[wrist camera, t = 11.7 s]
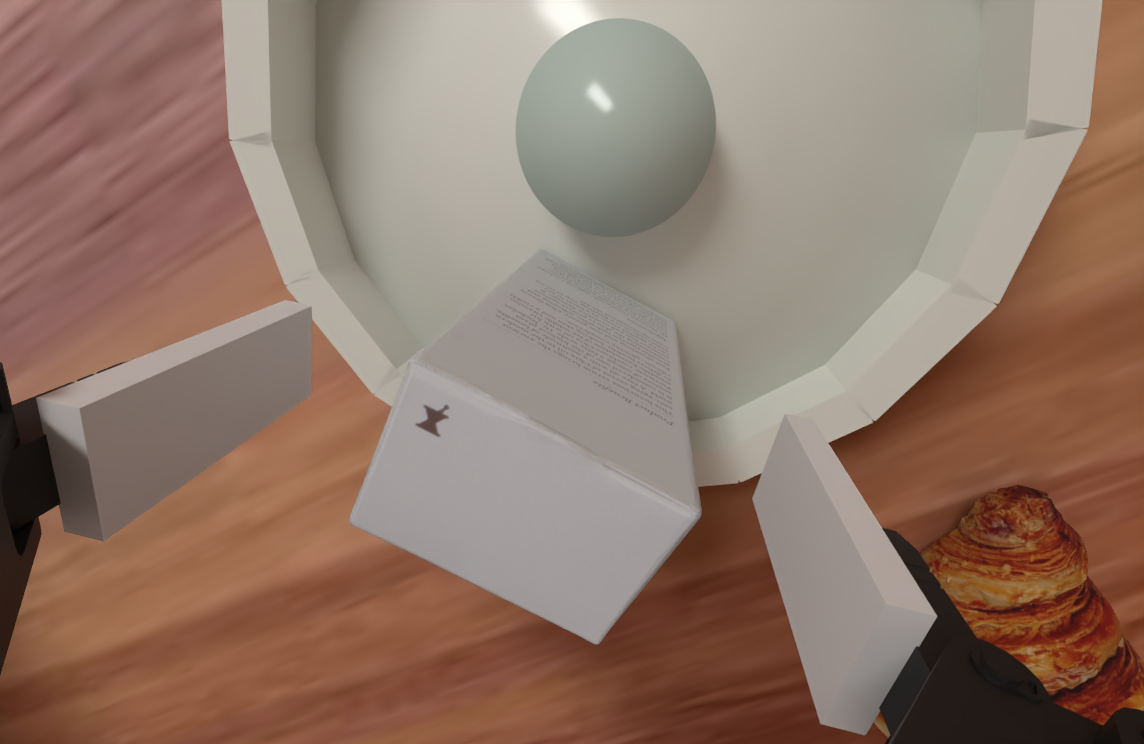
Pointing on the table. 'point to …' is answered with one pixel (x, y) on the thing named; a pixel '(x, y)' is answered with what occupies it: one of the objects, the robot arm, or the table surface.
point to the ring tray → (755, 250)
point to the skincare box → (542, 448)
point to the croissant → (1038, 601)
